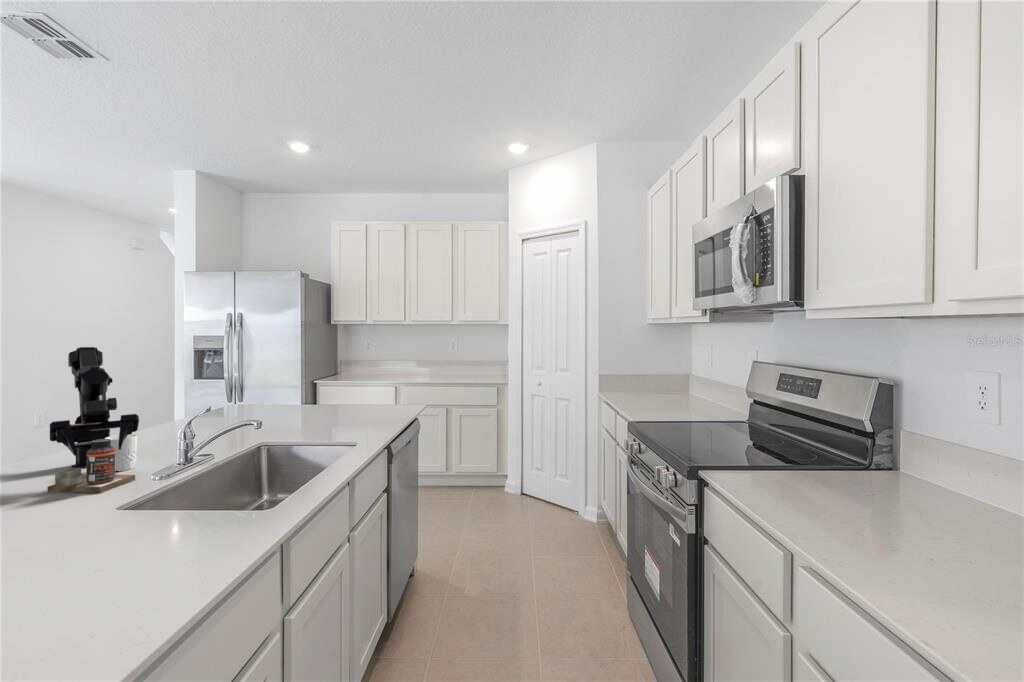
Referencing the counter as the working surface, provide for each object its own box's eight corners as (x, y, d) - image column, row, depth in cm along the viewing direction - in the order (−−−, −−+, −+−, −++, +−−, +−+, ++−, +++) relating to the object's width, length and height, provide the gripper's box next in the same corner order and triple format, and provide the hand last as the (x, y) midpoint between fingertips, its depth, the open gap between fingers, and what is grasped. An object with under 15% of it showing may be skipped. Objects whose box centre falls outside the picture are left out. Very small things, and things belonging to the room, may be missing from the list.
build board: (47, 492, 125) (47, 473, 125) (86, 479, 136) (86, 461, 136) (100, 493, 124) (100, 473, 124) (135, 480, 135) (135, 462, 135)
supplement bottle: (93, 486, 124) (93, 443, 124) (81, 483, 127) (81, 441, 127) (120, 480, 130) (119, 439, 130) (108, 477, 132) (107, 436, 132)
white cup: (110, 467, 148) (109, 435, 148) (141, 464, 152) (140, 433, 151) (100, 474, 141) (100, 440, 141) (133, 470, 144) (133, 438, 144)
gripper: (49, 391, 126) (50, 440, 119) (137, 386, 140) (144, 429, 132) (49, 417, 132) (50, 464, 125) (134, 409, 145) (140, 452, 138)
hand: (98, 451), depth 130 cm, fingers open, 9 cm apart
